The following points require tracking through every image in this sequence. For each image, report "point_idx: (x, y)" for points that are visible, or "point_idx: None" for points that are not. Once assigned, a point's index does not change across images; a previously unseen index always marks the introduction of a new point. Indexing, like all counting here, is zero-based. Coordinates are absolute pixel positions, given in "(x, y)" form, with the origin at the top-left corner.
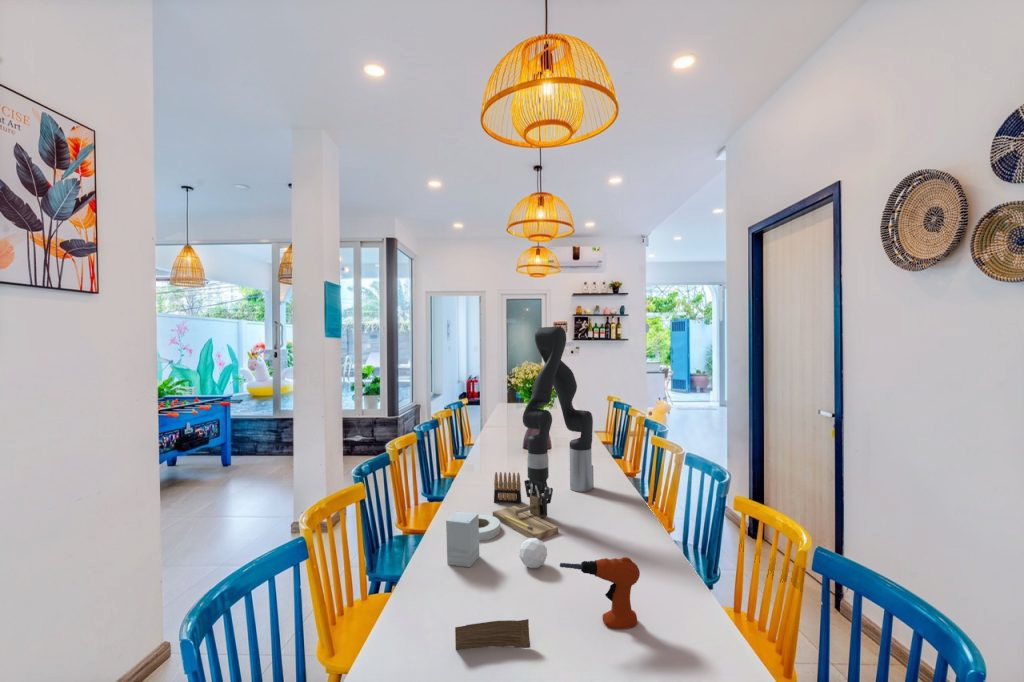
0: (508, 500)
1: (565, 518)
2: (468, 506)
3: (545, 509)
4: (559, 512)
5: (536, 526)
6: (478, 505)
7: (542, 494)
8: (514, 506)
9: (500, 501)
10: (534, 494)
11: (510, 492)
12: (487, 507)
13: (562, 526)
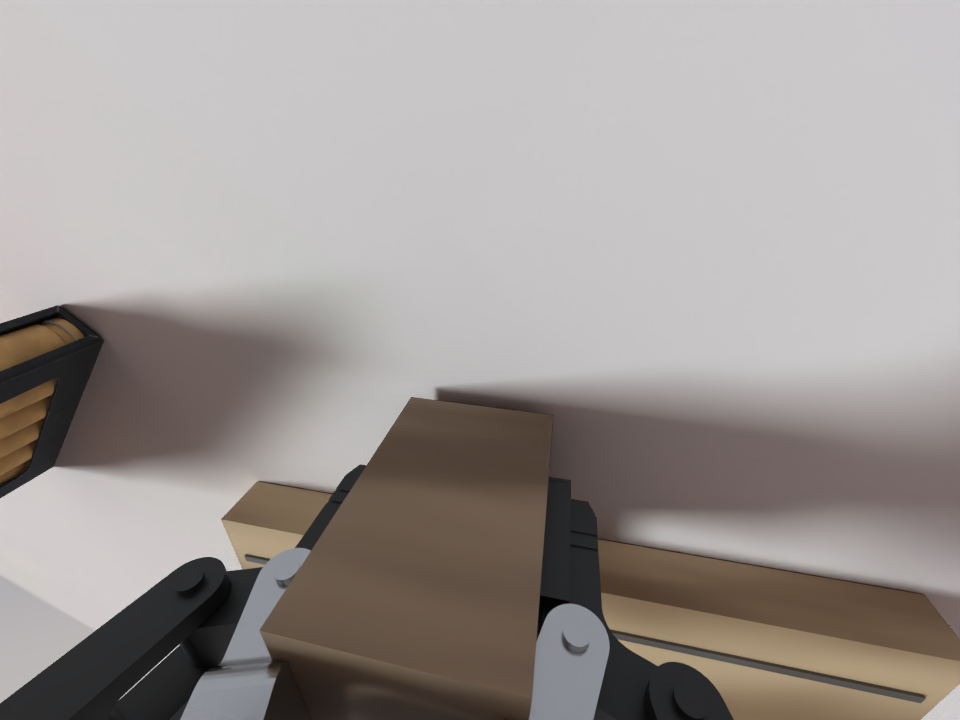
0: (48, 421)
1: (770, 264)
2: (96, 581)
3: (597, 561)
4: (542, 165)
5: (737, 717)
6: (89, 546)
7: (369, 659)
8: (239, 533)
9: (49, 450)
10: (307, 718)
11: None
12: (134, 539)
13: (881, 469)
